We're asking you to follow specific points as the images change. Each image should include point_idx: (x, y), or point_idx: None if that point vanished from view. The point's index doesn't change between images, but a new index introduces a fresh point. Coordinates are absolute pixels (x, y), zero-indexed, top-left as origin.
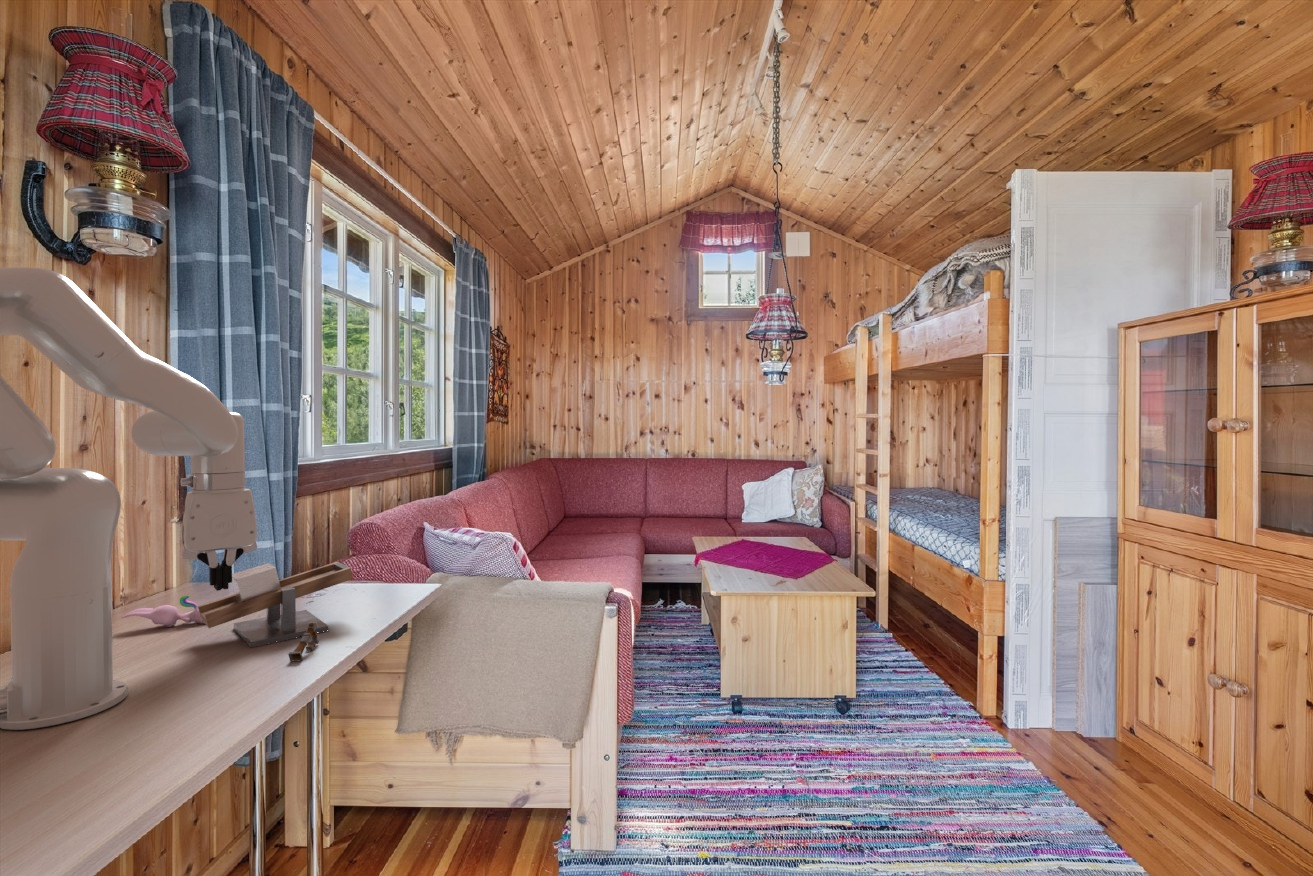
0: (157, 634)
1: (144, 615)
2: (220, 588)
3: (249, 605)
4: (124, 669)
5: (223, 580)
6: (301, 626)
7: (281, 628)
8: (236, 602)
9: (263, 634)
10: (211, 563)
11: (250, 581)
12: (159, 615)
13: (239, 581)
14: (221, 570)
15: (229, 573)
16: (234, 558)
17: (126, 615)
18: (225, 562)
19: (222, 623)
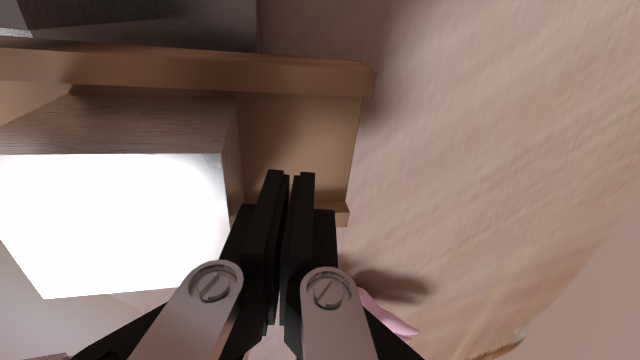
0: (380, 262)
1: (394, 317)
2: (302, 172)
3: (213, 58)
4: (533, 67)
5: (283, 197)
6: (96, 26)
7: (151, 12)
8: (247, 185)
9: (210, 35)
10: (342, 304)
11: (156, 137)
12: (371, 308)
13: (210, 145)
14: (284, 242)
15: (242, 232)
16: (170, 306)
17: (416, 331)
18: (245, 299)
19: (319, 58)
